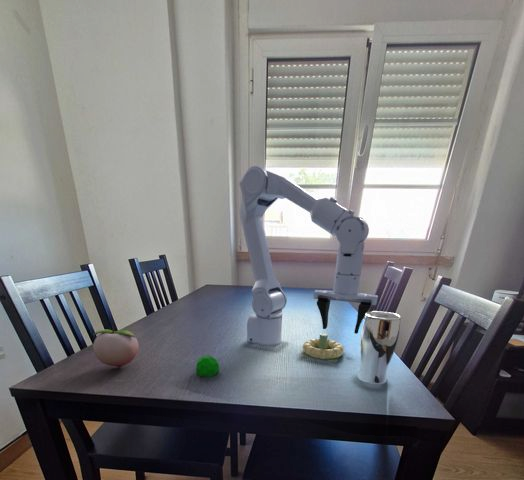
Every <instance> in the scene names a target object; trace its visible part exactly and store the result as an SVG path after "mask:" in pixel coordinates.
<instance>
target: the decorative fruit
mask: <svg viewBox="0 0 524 480" xmlns="http://www.w3.org/2000/svg"><path fill="white" fill-rule="evenodd" d="M114 327H115V326H114V325H112V326H111V329H101V330H97V331H96V332H94V334H93V336H96V335H97V336H96V337H95V339H94V340H93V345H92V349H93V353H94V355H95V357H96V358H97V359H98V361H99V362H100V363H102V364H103V365H106V366H111V367H117V368H121V367H124V366H126V365H128V364H130V363H131V362H132V361H133V360H134V359H135V358H136V357H137V354H138V352H139V347H140V346H139V342H138V340H137V336H136V335H135V334H134V333H133V332H132V331H129V330H126V329H117V330H116V331H115V328H114Z"/></svg>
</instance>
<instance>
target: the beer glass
mask: <svg viewBox="0 0 524 480" xmlns="http://www.w3.org/2000/svg"><path fill="white" fill-rule="evenodd" d="M401 321H402V316H401V315H399V314H397V313H394V312H388V311H380V310H379V311H378V310H373V311H368V312H367V313H366V314H365V317H364V318H363V323H362V328H361V333H360V365H359V370H358V374H357V379H358V380H359V381H361V382H363V383H366V384H370V385H377V386H378V385H379V386H380V385H384V384H385V383H387V374H388V373H387V372H388V368H389V365H390V363H391V360H392V358H393V356H394V354H395V353H394V352H395V351H396V348H397V345H398V340H399V337H400V329H401Z"/></svg>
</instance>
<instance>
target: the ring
mask: <svg viewBox="0 0 524 480" xmlns="http://www.w3.org/2000/svg"><path fill="white" fill-rule="evenodd" d="M301 348H302V349H301V350H302V351H303V352H305V353H306V354H307V355H309V356H312V357H314V358H313V359H317V358H320V359H319V360H322V359H334V358H337V357H338V358H340V357H341V356H343V354H344V352H345V348H344V346H343V345H342V344H341V343H340V342H339V341H335V340H332V339H327V347H326V348H328V349H319V338H312V339H309V340H308V339H307V340H306V341H304V343H303V344H302V346H301Z"/></svg>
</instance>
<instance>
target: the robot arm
mask: <svg viewBox="0 0 524 480" xmlns="http://www.w3.org/2000/svg"><path fill="white" fill-rule="evenodd" d="M239 188H240V193H241V194H240V195H241V196H240V203H239V204H240V205H239V219H240V222H241V226H242V230H243V231H242V232H243V235H244V240H245V243H246V244H245V245H246V248H247V252H248V257H249V261H250V265H251V269H252V273H253V274H252V275H253V278H254V284H253V287H252V288H251V294H252V301H251V307H252V309H253V310H252V311H253V312H254V313H250V315H249V316H248V319H247V323H246V342H247V343H252V344H257V345H260V346H266V347H268V346H269V347H271V346H272V347H273V346H277V345H280V344H281V343H282V332H283V331H282V329H283V328H282V327H283V310H284V308H285V307H286V305H287V301H288V300H287V299H288V298H287V295H286V293H285V292H284V291H283V289H282V285H281V283H280V282H279V280H278V279H277V278H276V276H275V272H274V268H273V263H272V259H271V258H272V257H271V253H270V249H269V244H268V239H267V234H266V230H265V227H264V220H263V216H264V215H265V213H266V211H267V210H268V209H269V208H270V207H271V206H272V205H273V204H274V203H275V202H276V201H277V200H278V199H279V200H283V199H286V200H288V201H290V202H291V203H294V204H295V205H296V206H298V207H300V208H302V209H303V210H305V212H308V213H309V214H310V218H311V222H312V223H313V224H314V225H317V226H318V227H320V228H321V229H323V230H324V231H325V232H327V233H329V234H330V235H331V236H332V237H336V239H337V241H338V247H337V252H336V261H335V271H334V279H333V286H332V290H325V289H324V290H321V289H315V290H314V291H313V300H317V301H316V306H317V308H318V311H319V314H320V319H321V323H322V330H326V329H327V328H328V326H329V325H328V324H329V311H330V306H331V301H336V302H347V303H357V304H358V308H357V315H356V316H357V317H356V323H355V328H354V332H353V333H354V334H355V335H357V334H358V333H359V330H360V327H361V325H362V322H363V321H364V319H365V314H366V313H367V312H369V310H370V309H371V307H372V306H376V305H377V303H378V297H379V296H378V295H377V294H369V293H362V292H359V289H360V281H361V274H362V267H363V261H364V250H365V241H366V239H368V236H369V234H370V228H369V224H368V223H367V221H365V219H364V218H363V217H360V216H356V215H355V216H354V214H355V211H354V210H353V209H349V210H348V209H347V208H345V207H344V206H342V205H340V204H339V203H337V202H338V200H337V199H336V198H335V197H333V196H331V197H330V198H329V197H327V196H325V197H321V198H317V197H315V196H313V195H312V194H311V193H309V192H308V191H306V190H305V189H304V188H302V187H300V186H299V185H298V184H296V183H295V182H294V181H292V180H290V179H288V178H286V177H284V176H281V175H279V174H277V173H274V172H271V171H269V170H265V169H263V168H262V167H260V166H258V165H252V166H250V167H248V168H247V169H246V170H245V172H244V174H243V176H242V178H241V180H240V182H239Z"/></svg>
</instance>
